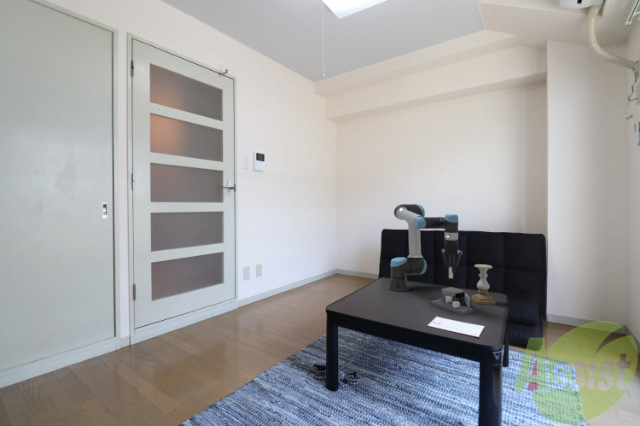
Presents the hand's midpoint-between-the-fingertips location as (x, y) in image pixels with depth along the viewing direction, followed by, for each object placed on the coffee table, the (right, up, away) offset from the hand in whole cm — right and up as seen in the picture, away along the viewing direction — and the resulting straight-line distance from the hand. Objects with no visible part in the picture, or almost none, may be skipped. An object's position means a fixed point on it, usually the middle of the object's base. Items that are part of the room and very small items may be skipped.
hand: (450, 277), depth 176 cm
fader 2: (+1, -16, -5) cm, 17 cm away
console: (0, -19, 0) cm, 19 cm away
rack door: (+13, -18, +4) cm, 23 cm away
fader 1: (+1, -16, +5) cm, 17 cm away
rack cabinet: (+6, -18, +11) cm, 23 cm away
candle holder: (+27, -19, +12) cm, 35 cm away
